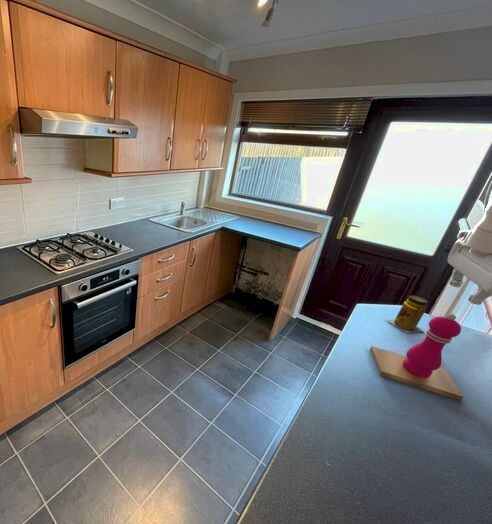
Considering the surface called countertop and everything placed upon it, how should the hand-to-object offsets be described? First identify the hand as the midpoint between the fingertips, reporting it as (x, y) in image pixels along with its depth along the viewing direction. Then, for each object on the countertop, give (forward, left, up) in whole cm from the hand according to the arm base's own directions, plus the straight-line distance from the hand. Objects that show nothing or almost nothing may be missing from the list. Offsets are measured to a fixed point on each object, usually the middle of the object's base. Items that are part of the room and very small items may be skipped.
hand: (463, 293), depth 71 cm
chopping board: (0, 0, -28) cm, 28 cm away
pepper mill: (0, 0, -26) cm, 26 cm away
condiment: (-7, -29, -28) cm, 41 cm away
